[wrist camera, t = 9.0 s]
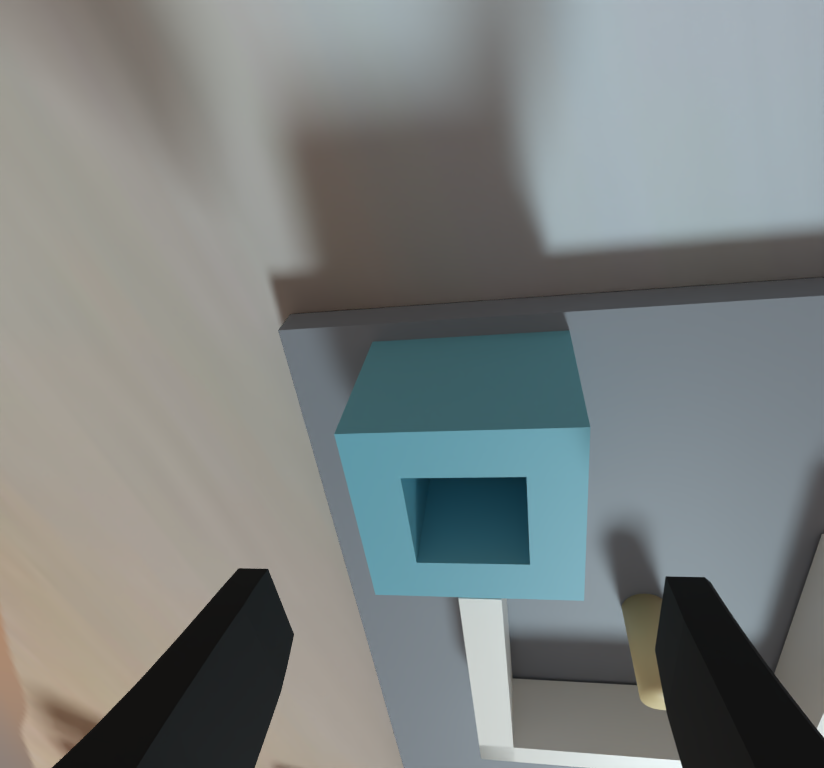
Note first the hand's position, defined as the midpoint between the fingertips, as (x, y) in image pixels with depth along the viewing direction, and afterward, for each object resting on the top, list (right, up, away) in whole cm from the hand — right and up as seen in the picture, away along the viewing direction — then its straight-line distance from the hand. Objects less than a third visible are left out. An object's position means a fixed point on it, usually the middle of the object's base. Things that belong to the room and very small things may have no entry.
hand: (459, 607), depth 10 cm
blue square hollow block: (+1, +3, +5) cm, 6 cm away
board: (+6, -5, +11) cm, 13 cm away
